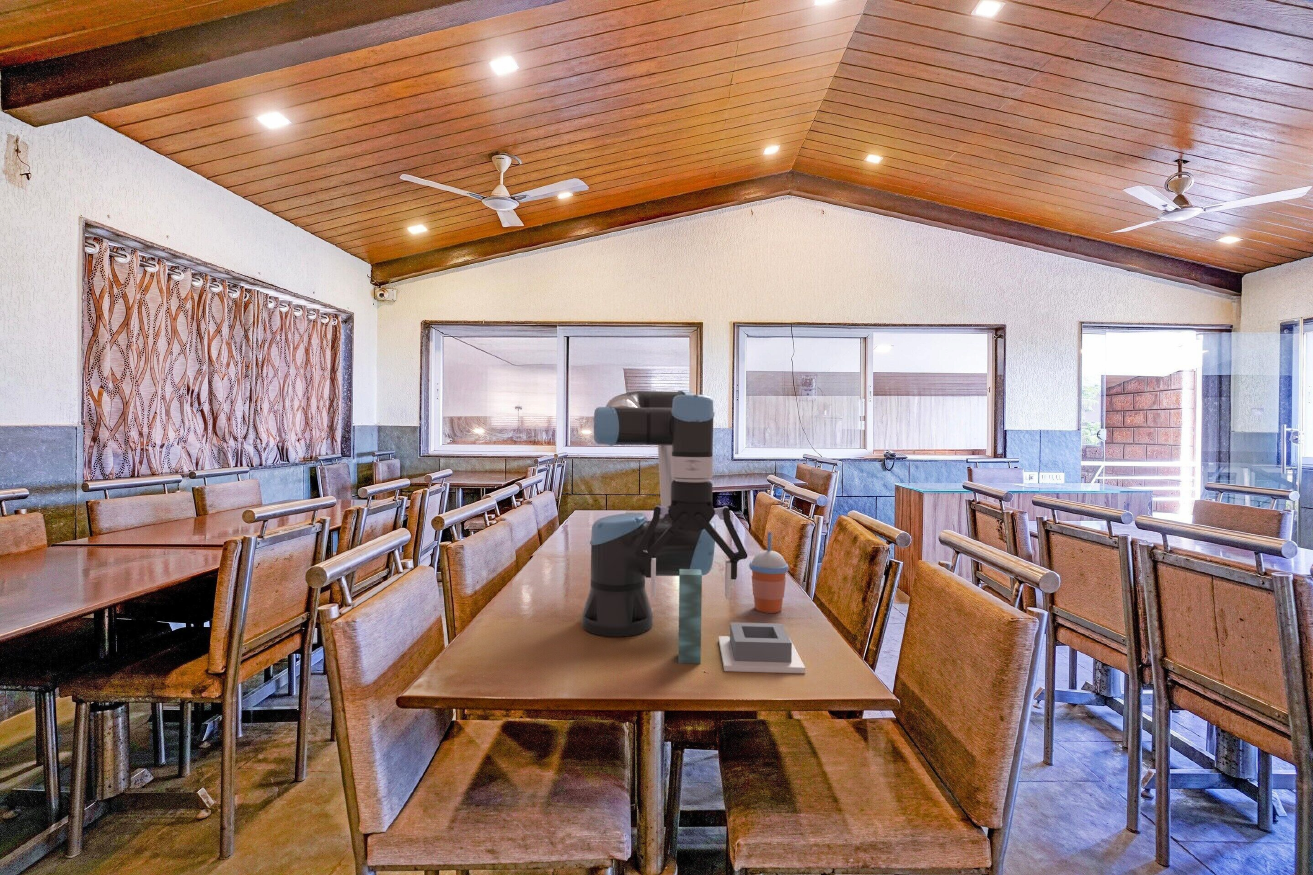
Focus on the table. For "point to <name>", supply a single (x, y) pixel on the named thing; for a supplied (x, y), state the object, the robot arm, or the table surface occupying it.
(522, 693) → the table surface
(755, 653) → the socket block
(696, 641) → the peg
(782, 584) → the cup with straw
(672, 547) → the robot arm
